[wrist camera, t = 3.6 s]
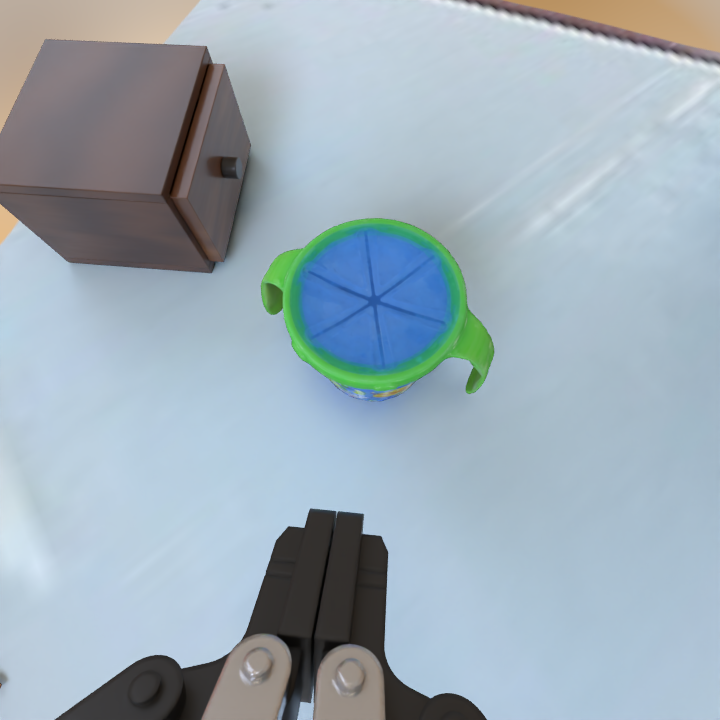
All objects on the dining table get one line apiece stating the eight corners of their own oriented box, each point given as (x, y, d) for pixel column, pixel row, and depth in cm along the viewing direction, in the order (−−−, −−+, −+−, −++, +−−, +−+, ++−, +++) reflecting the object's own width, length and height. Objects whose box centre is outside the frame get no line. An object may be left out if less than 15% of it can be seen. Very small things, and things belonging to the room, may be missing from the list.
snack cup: (495, 347, 35) (541, 280, 25) (433, 468, 32) (459, 444, 22) (323, 262, 38) (306, 174, 28) (252, 365, 35) (207, 306, 25)
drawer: (264, 145, 41) (240, 64, 34) (238, 263, 37) (205, 199, 30) (130, 138, 42) (78, 57, 35) (90, 252, 38) (22, 187, 31)
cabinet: (242, 147, 42) (206, 45, 33) (212, 273, 38) (161, 195, 29) (113, 139, 43) (44, 38, 34) (68, 262, 39) (-25, 183, 30)
